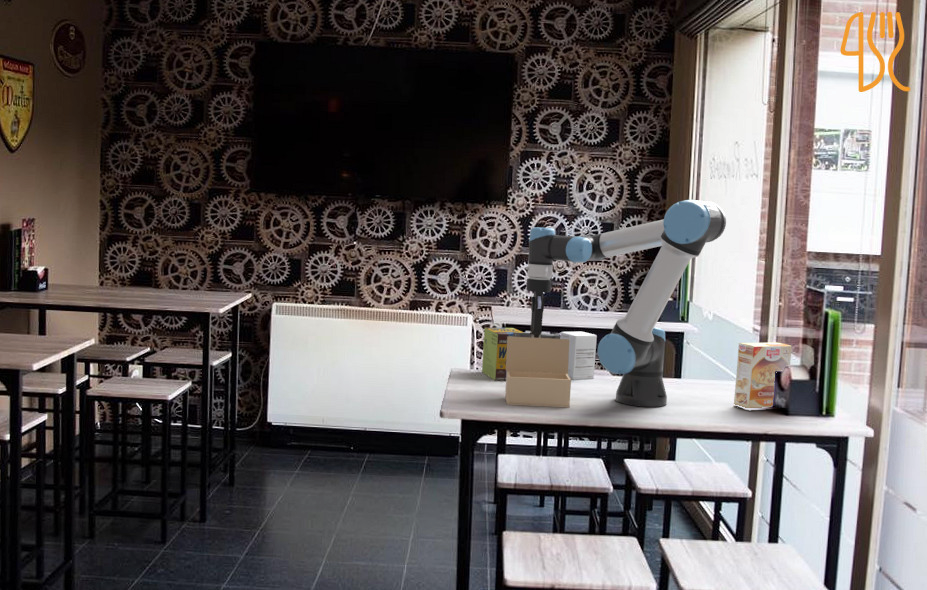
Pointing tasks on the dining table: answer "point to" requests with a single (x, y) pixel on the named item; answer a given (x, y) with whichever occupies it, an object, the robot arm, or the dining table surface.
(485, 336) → the protein box
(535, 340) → the flap
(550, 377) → the carton
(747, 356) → the coffeecake box
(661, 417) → the dining table surface
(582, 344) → the supplement box
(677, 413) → the dining table surface
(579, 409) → the dining table surface
